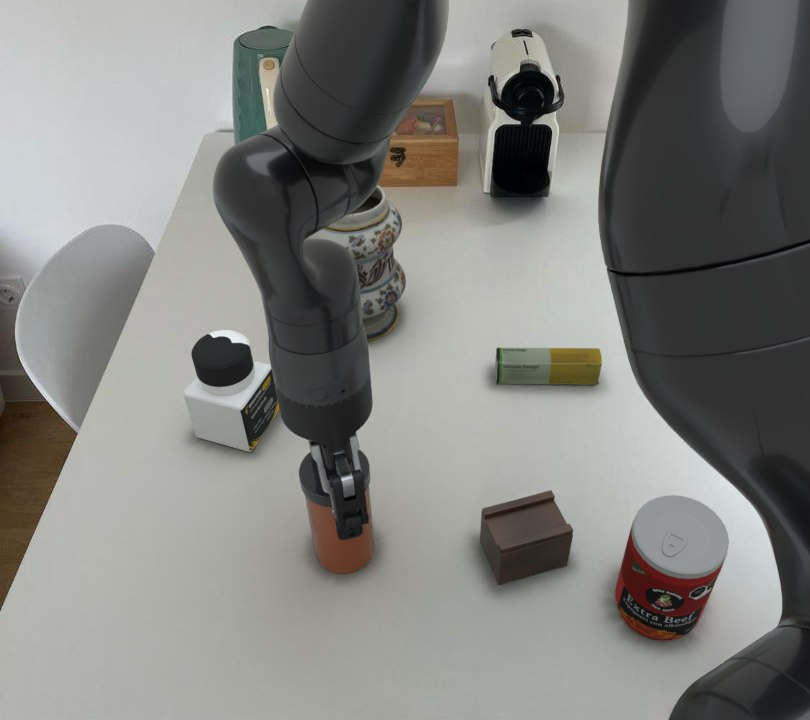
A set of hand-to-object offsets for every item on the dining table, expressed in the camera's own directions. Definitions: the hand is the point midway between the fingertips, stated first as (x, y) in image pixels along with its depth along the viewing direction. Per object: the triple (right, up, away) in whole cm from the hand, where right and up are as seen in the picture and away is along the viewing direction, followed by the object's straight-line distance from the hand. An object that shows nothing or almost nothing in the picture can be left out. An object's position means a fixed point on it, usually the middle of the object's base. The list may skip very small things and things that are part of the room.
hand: (339, 497), depth 74 cm
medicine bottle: (-13, +5, +18) cm, 23 cm away
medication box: (+23, +10, +22) cm, 33 cm away
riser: (+17, -6, +4) cm, 19 cm away
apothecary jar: (0, +18, +31) cm, 36 cm away
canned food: (+29, -10, 0) cm, 30 cm away
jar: (-3, -2, +1) cm, 4 cm away
